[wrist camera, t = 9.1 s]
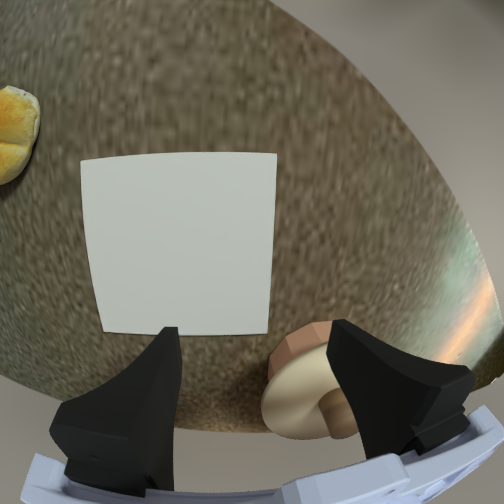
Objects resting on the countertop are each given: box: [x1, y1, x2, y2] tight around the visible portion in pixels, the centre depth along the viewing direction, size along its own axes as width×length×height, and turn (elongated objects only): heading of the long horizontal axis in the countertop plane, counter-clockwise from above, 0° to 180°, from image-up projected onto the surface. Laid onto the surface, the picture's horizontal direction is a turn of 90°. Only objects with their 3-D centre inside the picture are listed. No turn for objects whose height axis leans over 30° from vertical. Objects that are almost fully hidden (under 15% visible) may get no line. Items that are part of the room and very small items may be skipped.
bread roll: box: [0, 86, 41, 185], centre depth 14 cm, size 8×9×4 cm
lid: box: [261, 338, 384, 440], centre depth 20 cm, size 13×13×4 cm
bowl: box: [268, 321, 332, 382], centre depth 24 cm, size 10×10×5 cm
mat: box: [81, 152, 277, 335], centre depth 21 cm, size 15×15×1 cm
